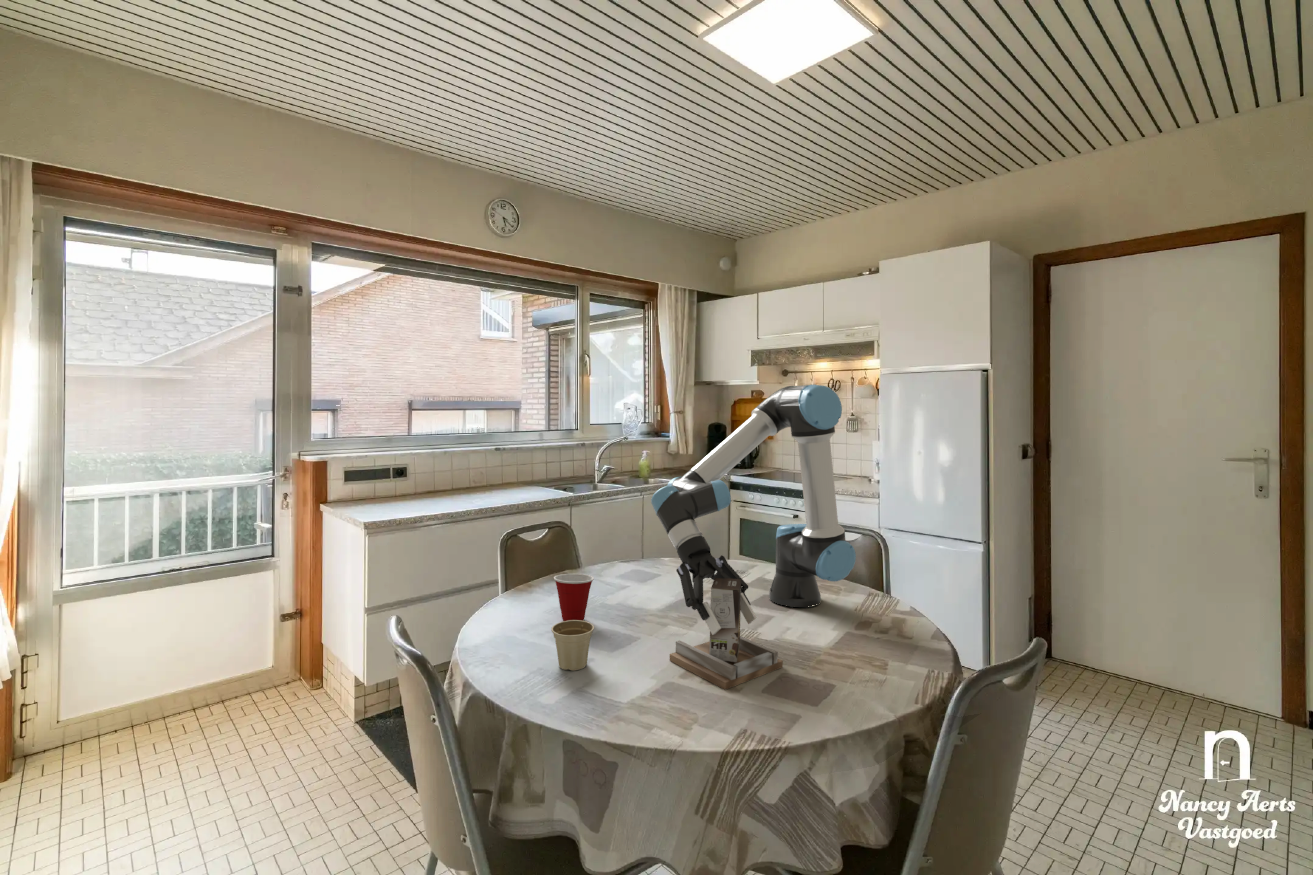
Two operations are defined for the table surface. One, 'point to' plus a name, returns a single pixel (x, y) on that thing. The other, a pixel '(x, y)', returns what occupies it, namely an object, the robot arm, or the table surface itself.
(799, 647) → the table surface
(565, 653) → the flower pot
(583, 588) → the plastic cup
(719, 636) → the coffee box
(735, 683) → the rail holder
